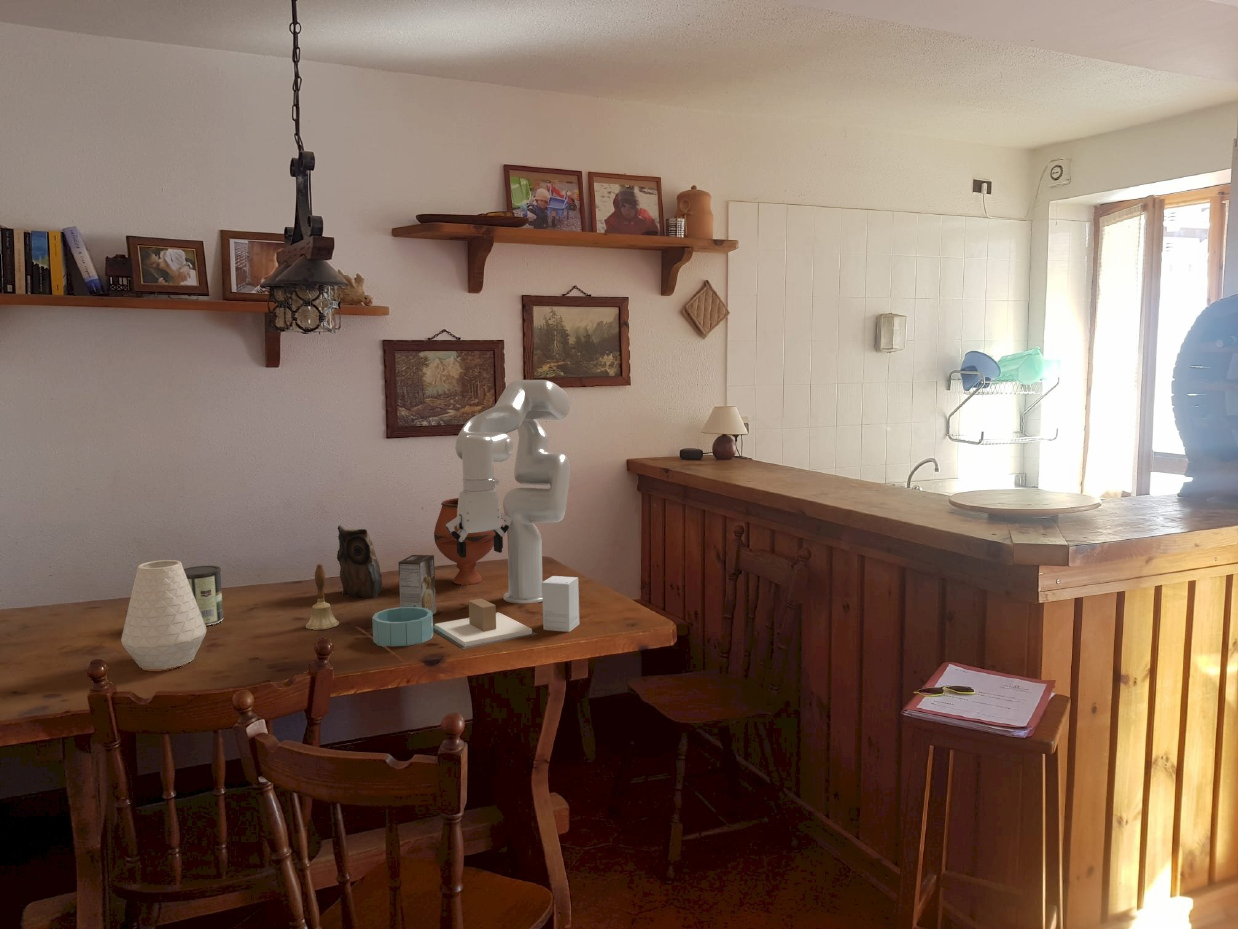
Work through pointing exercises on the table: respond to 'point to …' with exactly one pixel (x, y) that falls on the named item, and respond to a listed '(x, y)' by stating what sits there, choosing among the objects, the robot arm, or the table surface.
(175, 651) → the vase
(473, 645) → the mat
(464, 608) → the table surface
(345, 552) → the owl
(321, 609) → the hand bell
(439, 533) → the goblet
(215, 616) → the coffee can
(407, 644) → the bowl
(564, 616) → the supplement box
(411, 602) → the coffee box
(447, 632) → the lid
